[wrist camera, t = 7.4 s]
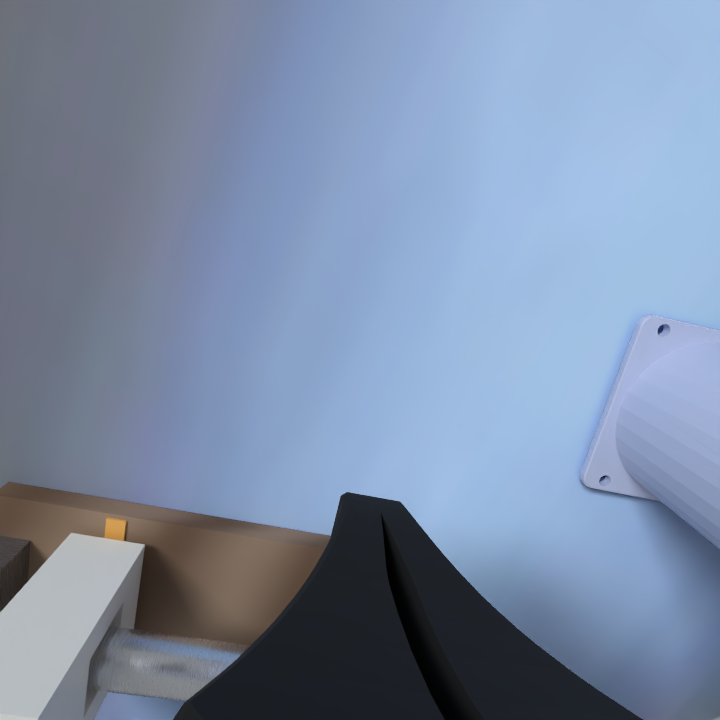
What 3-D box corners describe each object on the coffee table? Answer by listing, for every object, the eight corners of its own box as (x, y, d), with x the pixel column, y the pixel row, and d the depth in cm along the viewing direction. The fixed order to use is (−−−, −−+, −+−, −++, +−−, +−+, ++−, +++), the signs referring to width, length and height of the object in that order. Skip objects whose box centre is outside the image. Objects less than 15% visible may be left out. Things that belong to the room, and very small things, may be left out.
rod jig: (348, 539, 22) (352, 638, 17) (318, 659, 24) (313, 784, 18) (8, 482, 20) (-109, 570, 15) (1, 614, 22) (-107, 737, 17)
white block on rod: (145, 544, 20) (38, 718, 13) (131, 643, 21) (27, 852, 14) (71, 532, 20) (-82, 704, 12) (62, 634, 21) (-82, 843, 14)
